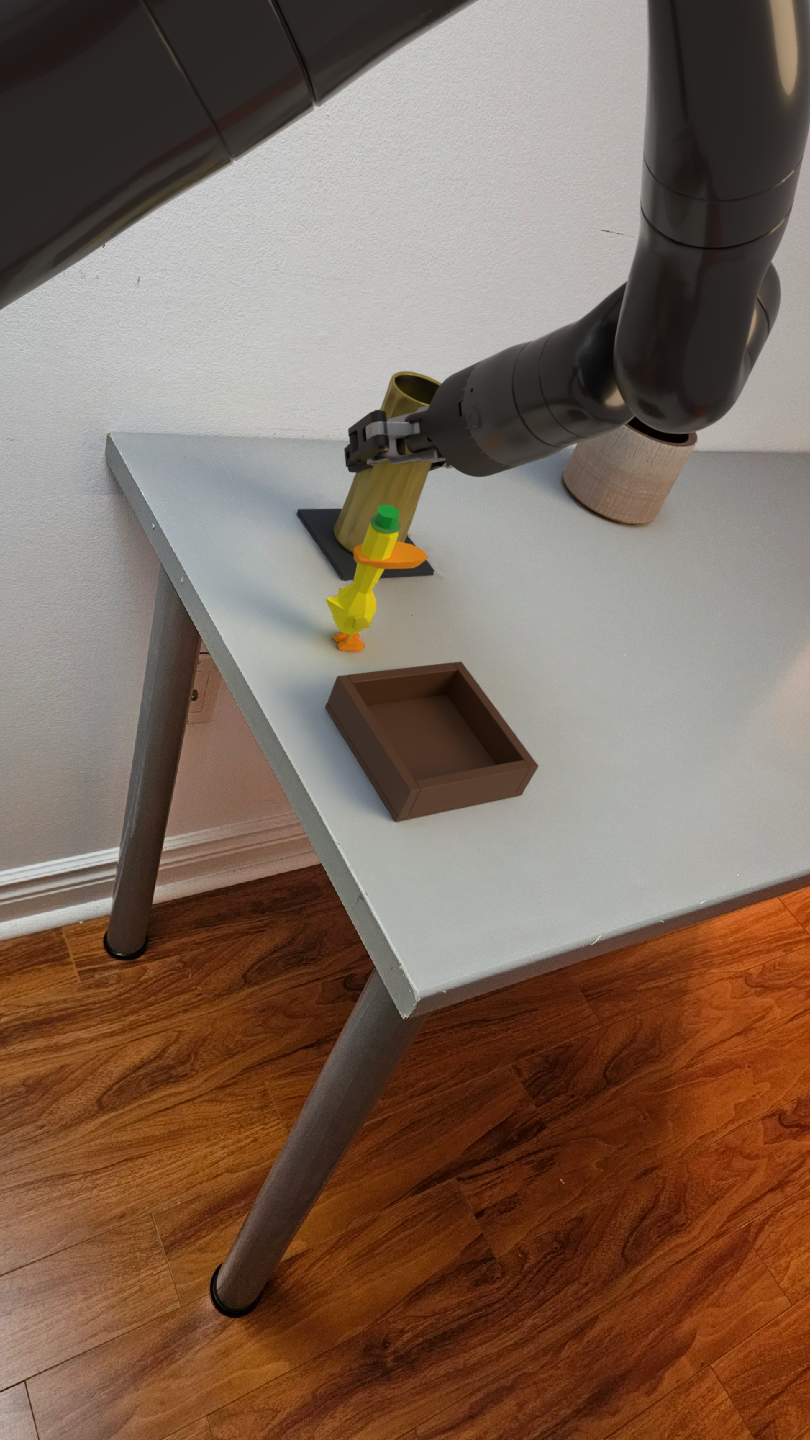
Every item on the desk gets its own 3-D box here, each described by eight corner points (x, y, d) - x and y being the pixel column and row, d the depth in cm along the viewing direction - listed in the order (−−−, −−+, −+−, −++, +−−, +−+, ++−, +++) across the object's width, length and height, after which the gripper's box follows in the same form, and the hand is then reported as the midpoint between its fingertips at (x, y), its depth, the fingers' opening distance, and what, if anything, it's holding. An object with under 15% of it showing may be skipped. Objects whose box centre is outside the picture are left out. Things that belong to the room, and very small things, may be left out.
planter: (599, 529, 106) (643, 446, 100) (541, 467, 112) (580, 385, 106) (673, 527, 112) (719, 448, 106) (615, 468, 118) (655, 391, 112)
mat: (342, 580, 85) (344, 575, 85) (296, 513, 90) (297, 508, 89) (433, 575, 90) (435, 570, 90) (384, 512, 95) (386, 507, 94)
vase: (350, 564, 86) (407, 407, 77) (321, 519, 89) (372, 364, 80) (413, 562, 89) (474, 412, 80) (382, 519, 93) (438, 370, 84)
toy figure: (381, 627, 82) (433, 498, 74) (398, 658, 80) (453, 529, 72) (301, 628, 79) (347, 493, 71) (317, 660, 77) (366, 525, 69)
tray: (395, 822, 68) (410, 791, 66) (324, 707, 73) (336, 675, 71) (521, 795, 73) (539, 766, 71) (447, 690, 79) (461, 660, 77)
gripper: (586, 362, 76) (450, 418, 90) (418, 344, 68) (299, 409, 82) (593, 468, 76) (457, 507, 90) (428, 462, 68) (308, 506, 83)
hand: (382, 460), depth 86 cm, fingers closed on vase, 5 cm apart
